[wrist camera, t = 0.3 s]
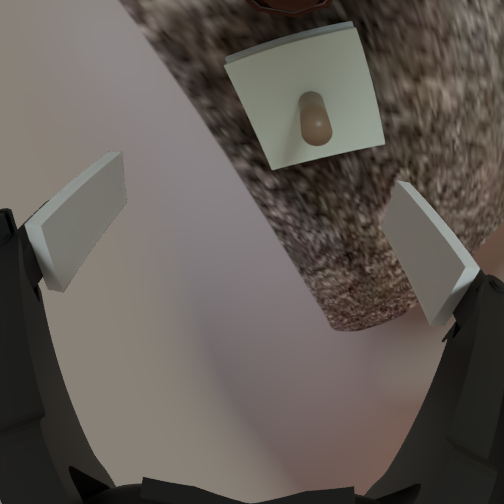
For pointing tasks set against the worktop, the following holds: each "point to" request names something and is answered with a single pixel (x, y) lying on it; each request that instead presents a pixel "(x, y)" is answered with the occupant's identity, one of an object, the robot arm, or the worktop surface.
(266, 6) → the ice cream bowl
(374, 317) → the worktop surface
